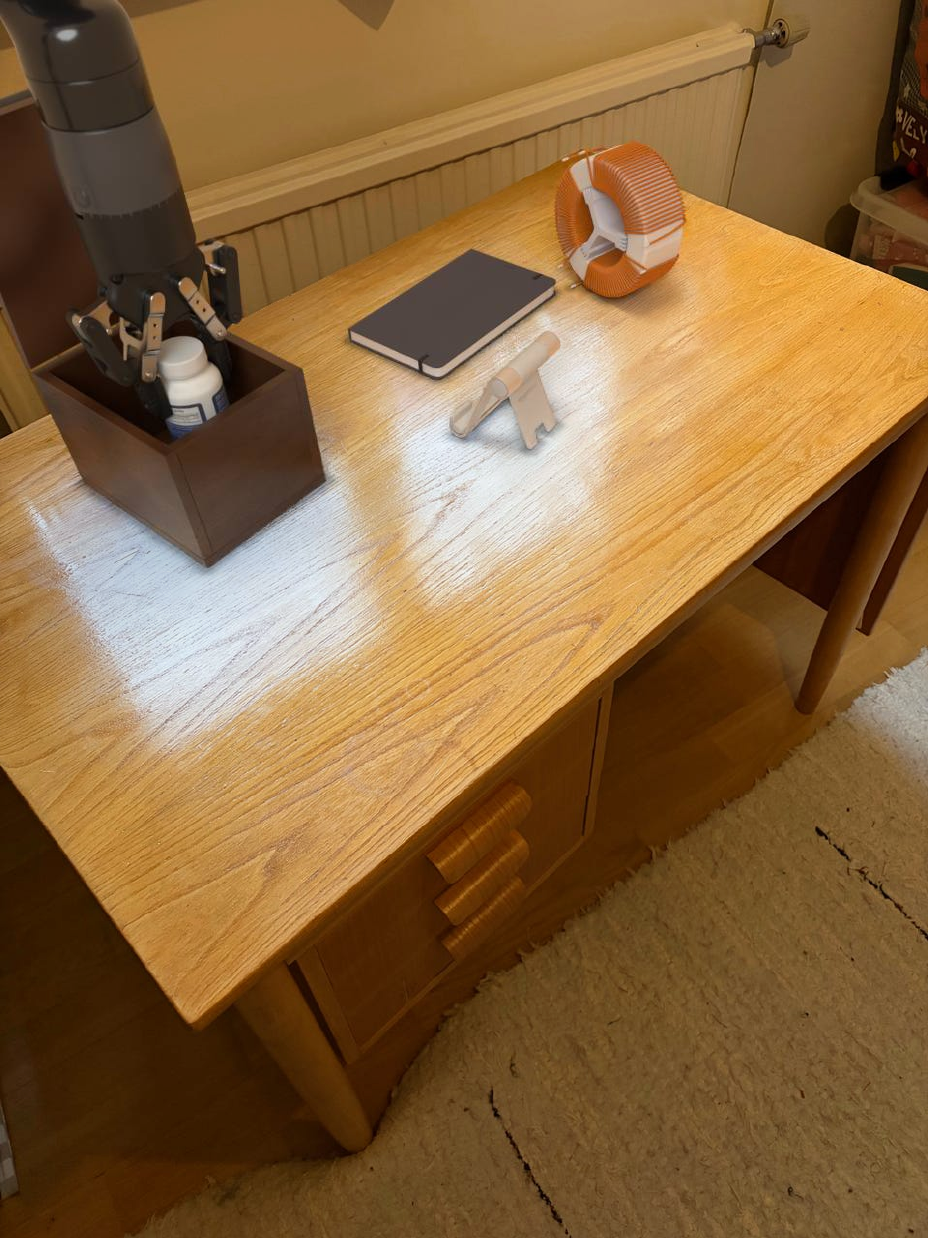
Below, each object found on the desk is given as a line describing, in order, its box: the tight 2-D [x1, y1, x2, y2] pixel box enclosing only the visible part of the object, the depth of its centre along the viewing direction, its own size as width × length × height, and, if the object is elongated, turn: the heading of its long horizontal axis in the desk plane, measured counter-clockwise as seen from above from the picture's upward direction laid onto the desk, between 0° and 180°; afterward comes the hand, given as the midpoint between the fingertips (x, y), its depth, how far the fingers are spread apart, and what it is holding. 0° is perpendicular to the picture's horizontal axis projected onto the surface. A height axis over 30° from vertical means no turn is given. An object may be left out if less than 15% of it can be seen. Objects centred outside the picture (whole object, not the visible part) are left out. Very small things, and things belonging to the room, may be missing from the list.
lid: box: [0, 87, 120, 370], centre depth 68 cm, size 19×14×5 cm
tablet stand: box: [449, 330, 561, 450], centre depth 82 cm, size 9×8×8 cm
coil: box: [553, 140, 688, 299], centre depth 95 cm, size 7×15×15 cm, turn 37°
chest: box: [30, 319, 327, 569], centre depth 76 cm, size 18×14×12 cm
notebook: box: [347, 248, 557, 380], centre depth 97 cm, size 13×2×21 cm
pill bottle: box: [156, 336, 230, 442], centre depth 72 cm, size 5×5×10 cm
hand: (191, 395), depth 71 cm, fingers closed on pill bottle, 5 cm apart
